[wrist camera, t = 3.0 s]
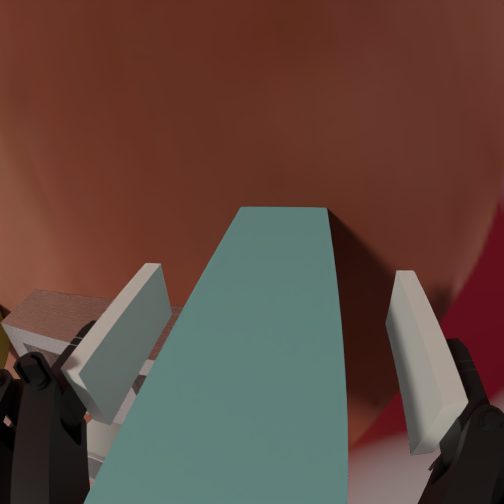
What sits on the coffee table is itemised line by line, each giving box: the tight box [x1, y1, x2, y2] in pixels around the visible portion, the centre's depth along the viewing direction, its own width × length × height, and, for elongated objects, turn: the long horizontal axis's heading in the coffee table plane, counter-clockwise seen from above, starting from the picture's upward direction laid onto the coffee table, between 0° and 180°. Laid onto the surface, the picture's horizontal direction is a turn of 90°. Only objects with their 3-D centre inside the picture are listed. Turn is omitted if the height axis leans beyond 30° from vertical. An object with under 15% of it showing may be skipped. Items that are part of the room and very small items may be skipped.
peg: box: [84, 207, 348, 504], centre depth 10 cm, size 4×4×16 cm
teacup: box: [87, 419, 122, 481], centre depth 28 cm, size 14×11×8 cm
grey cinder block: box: [1, 289, 184, 425], centre depth 21 cm, size 9×20×5 cm, turn 92°
